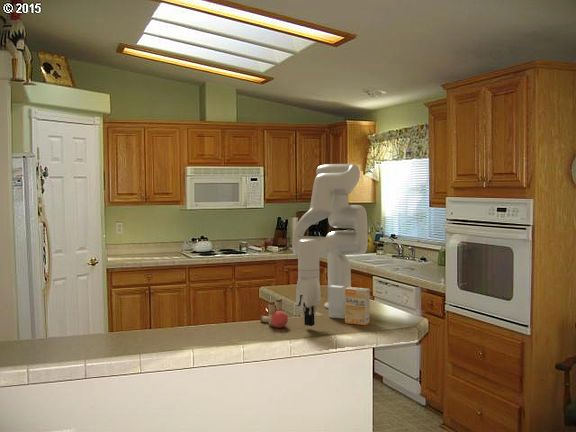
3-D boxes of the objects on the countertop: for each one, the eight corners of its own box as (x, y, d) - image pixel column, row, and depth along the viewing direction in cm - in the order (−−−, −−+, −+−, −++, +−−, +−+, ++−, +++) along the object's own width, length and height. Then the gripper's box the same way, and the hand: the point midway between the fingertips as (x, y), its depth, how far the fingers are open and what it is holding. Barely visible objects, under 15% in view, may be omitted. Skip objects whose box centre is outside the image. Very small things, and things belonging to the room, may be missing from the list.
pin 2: (278, 321, 224) (278, 298, 223) (283, 322, 222) (283, 299, 222) (275, 323, 222) (274, 299, 221) (280, 323, 221) (279, 300, 220)
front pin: (282, 324, 220) (263, 321, 225) (282, 318, 220) (264, 315, 225) (278, 325, 218) (259, 322, 223) (279, 318, 218) (260, 315, 223)
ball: (274, 305, 217) (290, 310, 216) (271, 319, 219) (287, 323, 219) (271, 314, 211) (287, 319, 211) (268, 328, 214) (284, 333, 213)
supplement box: (344, 323, 220) (344, 288, 219) (349, 320, 224) (349, 286, 223) (365, 326, 216) (365, 290, 215) (370, 323, 220) (370, 287, 219)
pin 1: (270, 324, 220) (270, 301, 219) (276, 325, 218) (275, 301, 218) (267, 325, 218) (267, 302, 217) (272, 326, 216) (272, 302, 216)
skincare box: (347, 316, 230) (346, 285, 230) (342, 319, 226) (342, 287, 226) (332, 315, 233) (332, 284, 233) (327, 317, 229) (327, 286, 229)
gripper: (310, 270, 219) (311, 319, 220) (288, 276, 207) (289, 328, 208) (328, 271, 215) (328, 321, 216) (307, 277, 203) (307, 331, 204)
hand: (309, 325), depth 212 cm, fingers closed
